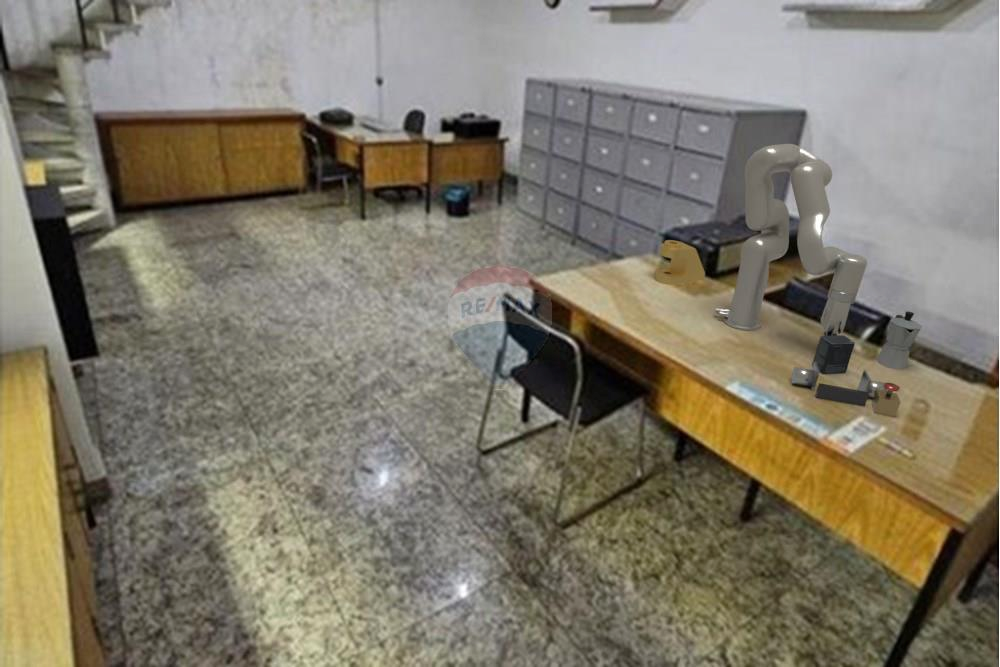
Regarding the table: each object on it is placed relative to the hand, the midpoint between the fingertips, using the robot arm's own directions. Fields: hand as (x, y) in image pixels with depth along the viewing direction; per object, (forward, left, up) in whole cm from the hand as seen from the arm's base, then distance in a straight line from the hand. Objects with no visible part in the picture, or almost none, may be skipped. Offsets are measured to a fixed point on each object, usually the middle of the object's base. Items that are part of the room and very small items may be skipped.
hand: (825, 348), depth 200 cm
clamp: (-48, +52, -3) cm, 71 cm away
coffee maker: (+20, +3, -3) cm, 20 cm away
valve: (+11, -30, -3) cm, 32 cm away
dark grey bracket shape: (0, -23, -3) cm, 23 cm away
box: (0, -10, -3) cm, 10 cm away
